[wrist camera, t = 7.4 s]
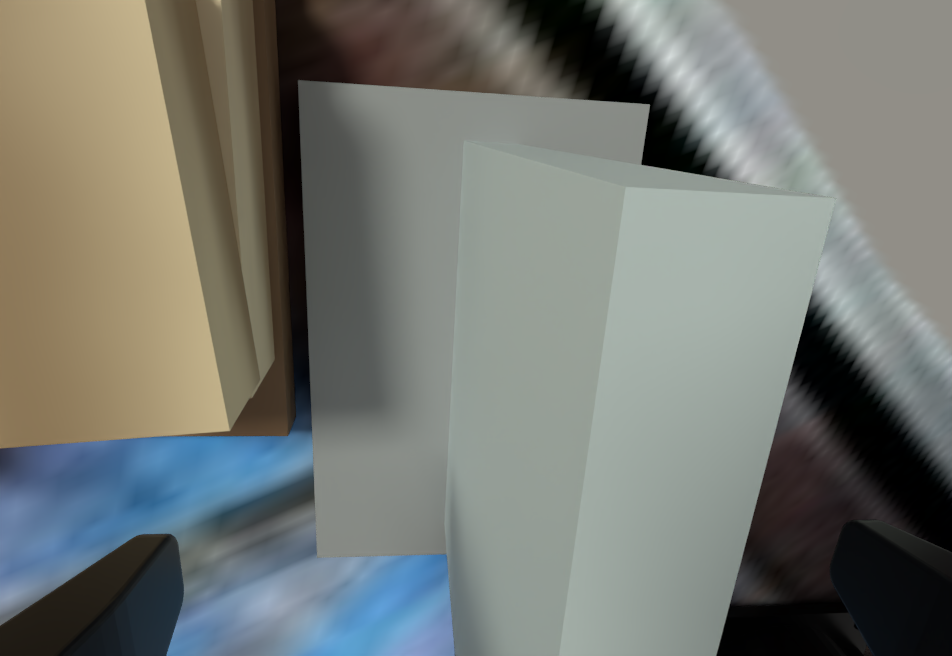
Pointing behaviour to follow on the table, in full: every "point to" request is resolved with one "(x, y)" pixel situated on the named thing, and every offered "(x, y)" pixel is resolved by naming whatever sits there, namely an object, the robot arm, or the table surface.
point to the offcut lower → (241, 152)
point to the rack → (271, 248)
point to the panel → (613, 396)
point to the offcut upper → (115, 229)
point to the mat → (402, 287)
